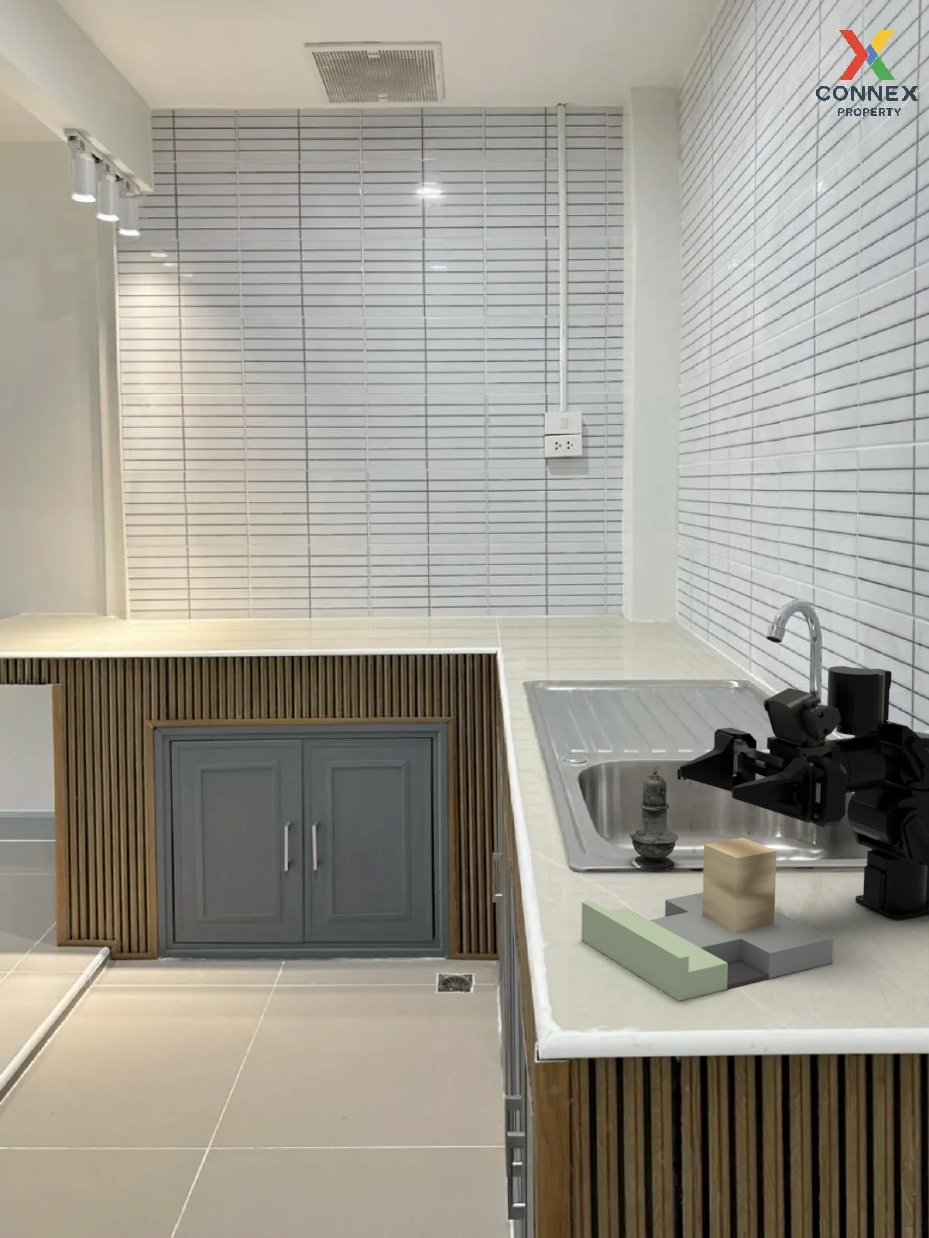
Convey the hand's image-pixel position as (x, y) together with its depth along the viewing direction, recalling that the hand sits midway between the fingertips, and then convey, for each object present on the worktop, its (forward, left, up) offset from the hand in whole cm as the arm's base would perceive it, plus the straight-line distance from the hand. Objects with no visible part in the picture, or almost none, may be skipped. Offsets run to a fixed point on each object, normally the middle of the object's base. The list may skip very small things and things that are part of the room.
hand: (705, 781), depth 117 cm
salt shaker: (-8, -23, -17) cm, 30 cm away
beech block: (-3, +2, -14) cm, 15 cm away
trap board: (+1, +2, -17) cm, 17 cm away
